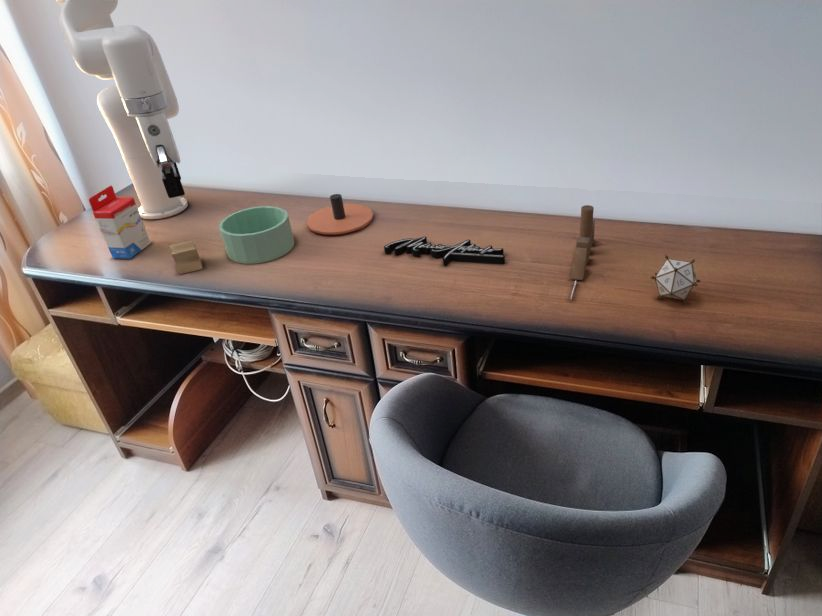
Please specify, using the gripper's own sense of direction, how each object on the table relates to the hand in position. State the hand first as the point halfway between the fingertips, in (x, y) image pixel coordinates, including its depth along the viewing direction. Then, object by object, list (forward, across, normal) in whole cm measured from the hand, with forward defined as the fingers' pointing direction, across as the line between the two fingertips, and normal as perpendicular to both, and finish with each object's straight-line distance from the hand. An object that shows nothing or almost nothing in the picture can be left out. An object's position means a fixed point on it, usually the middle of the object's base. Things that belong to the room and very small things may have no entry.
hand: (175, 188), depth 132 cm
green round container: (+18, +1, -14) cm, 22 cm away
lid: (+17, +4, -34) cm, 38 cm away
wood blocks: (+18, -45, -71) cm, 86 cm away
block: (+18, 0, +2) cm, 18 cm away
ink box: (+18, +16, +14) cm, 28 cm away
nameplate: (+18, -25, -49) cm, 58 cm away
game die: (+18, -63, -80) cm, 103 cm away
